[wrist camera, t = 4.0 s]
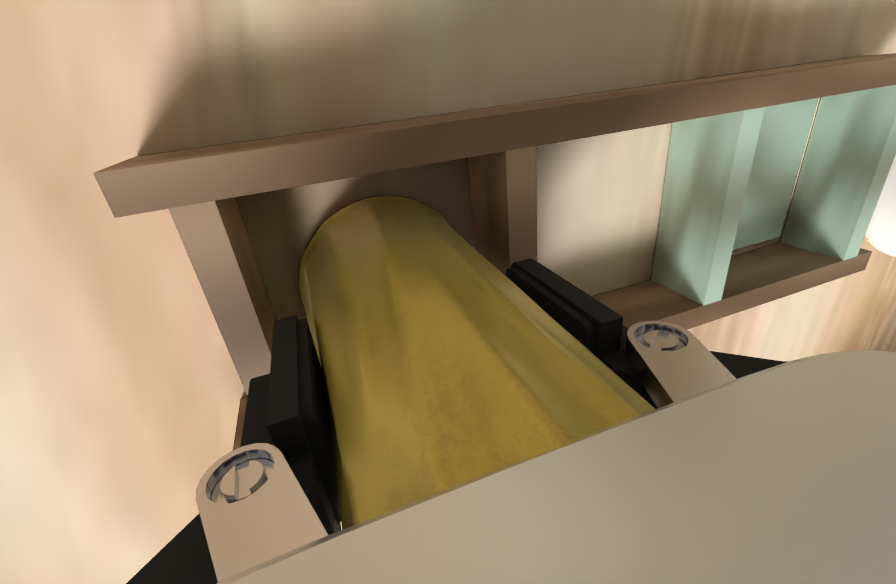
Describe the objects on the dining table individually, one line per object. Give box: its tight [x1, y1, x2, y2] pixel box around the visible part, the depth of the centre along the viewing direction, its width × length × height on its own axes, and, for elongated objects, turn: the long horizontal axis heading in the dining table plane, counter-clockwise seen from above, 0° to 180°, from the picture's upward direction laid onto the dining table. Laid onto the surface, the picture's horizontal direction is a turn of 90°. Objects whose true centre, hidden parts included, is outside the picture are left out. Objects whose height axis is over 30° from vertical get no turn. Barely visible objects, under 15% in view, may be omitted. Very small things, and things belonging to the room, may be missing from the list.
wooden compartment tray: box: [93, 53, 896, 450], centre depth 16 cm, size 10×30×3 cm, turn 95°
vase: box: [299, 196, 655, 530], centre depth 9 cm, size 6×6×14 cm
